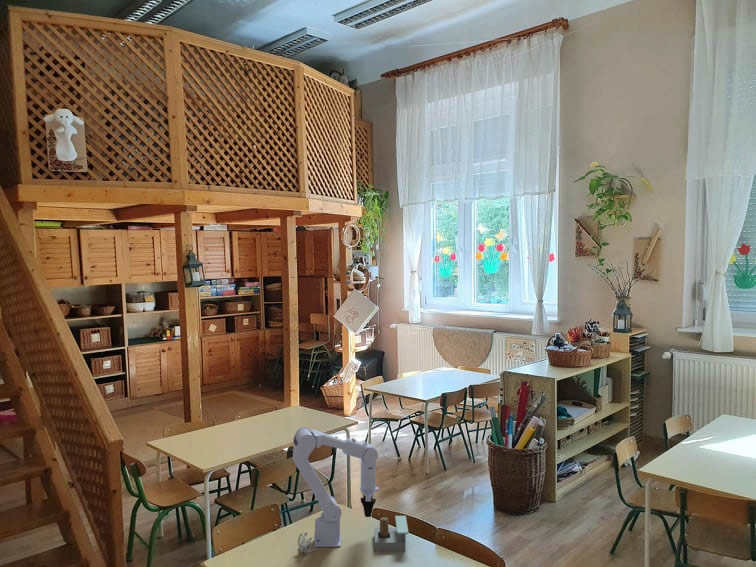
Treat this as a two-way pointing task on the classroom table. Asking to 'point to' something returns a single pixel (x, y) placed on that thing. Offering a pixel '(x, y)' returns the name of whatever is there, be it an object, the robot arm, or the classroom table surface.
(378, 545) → the socket block
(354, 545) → the classroom table surface
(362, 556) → the classroom table surface
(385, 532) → the peg
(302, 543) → the grey branched piece
